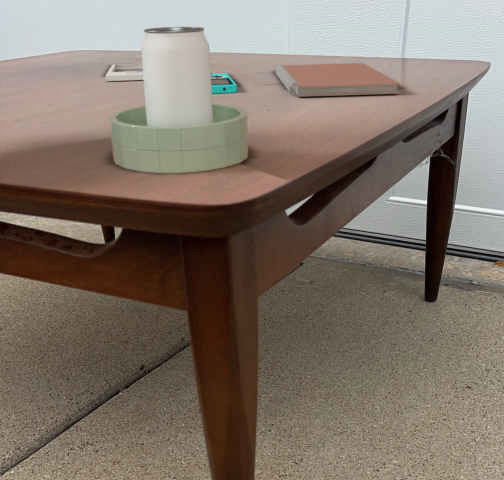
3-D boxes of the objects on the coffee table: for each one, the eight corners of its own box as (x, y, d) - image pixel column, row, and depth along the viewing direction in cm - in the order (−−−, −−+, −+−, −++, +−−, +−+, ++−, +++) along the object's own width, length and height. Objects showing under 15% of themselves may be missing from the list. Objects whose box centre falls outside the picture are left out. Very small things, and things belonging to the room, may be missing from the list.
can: (192, 146, 73) (185, 25, 68) (226, 157, 69) (222, 28, 64) (138, 155, 70) (126, 29, 65) (170, 168, 65) (161, 32, 60)
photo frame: (105, 74, 125) (112, 63, 142) (105, 81, 126) (113, 69, 142) (185, 71, 127) (183, 61, 143) (186, 78, 127) (183, 66, 143)
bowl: (151, 190, 61) (147, 134, 59) (93, 161, 71) (88, 112, 69) (274, 167, 68) (273, 115, 66) (205, 143, 78) (203, 98, 76)
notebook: (274, 75, 130) (274, 64, 129) (362, 72, 131) (362, 61, 130) (290, 98, 105) (290, 84, 104) (399, 94, 106) (400, 81, 105)
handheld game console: (228, 79, 126) (228, 71, 125) (239, 92, 112) (238, 83, 111) (173, 81, 125) (172, 73, 124) (177, 95, 110) (176, 86, 110)
